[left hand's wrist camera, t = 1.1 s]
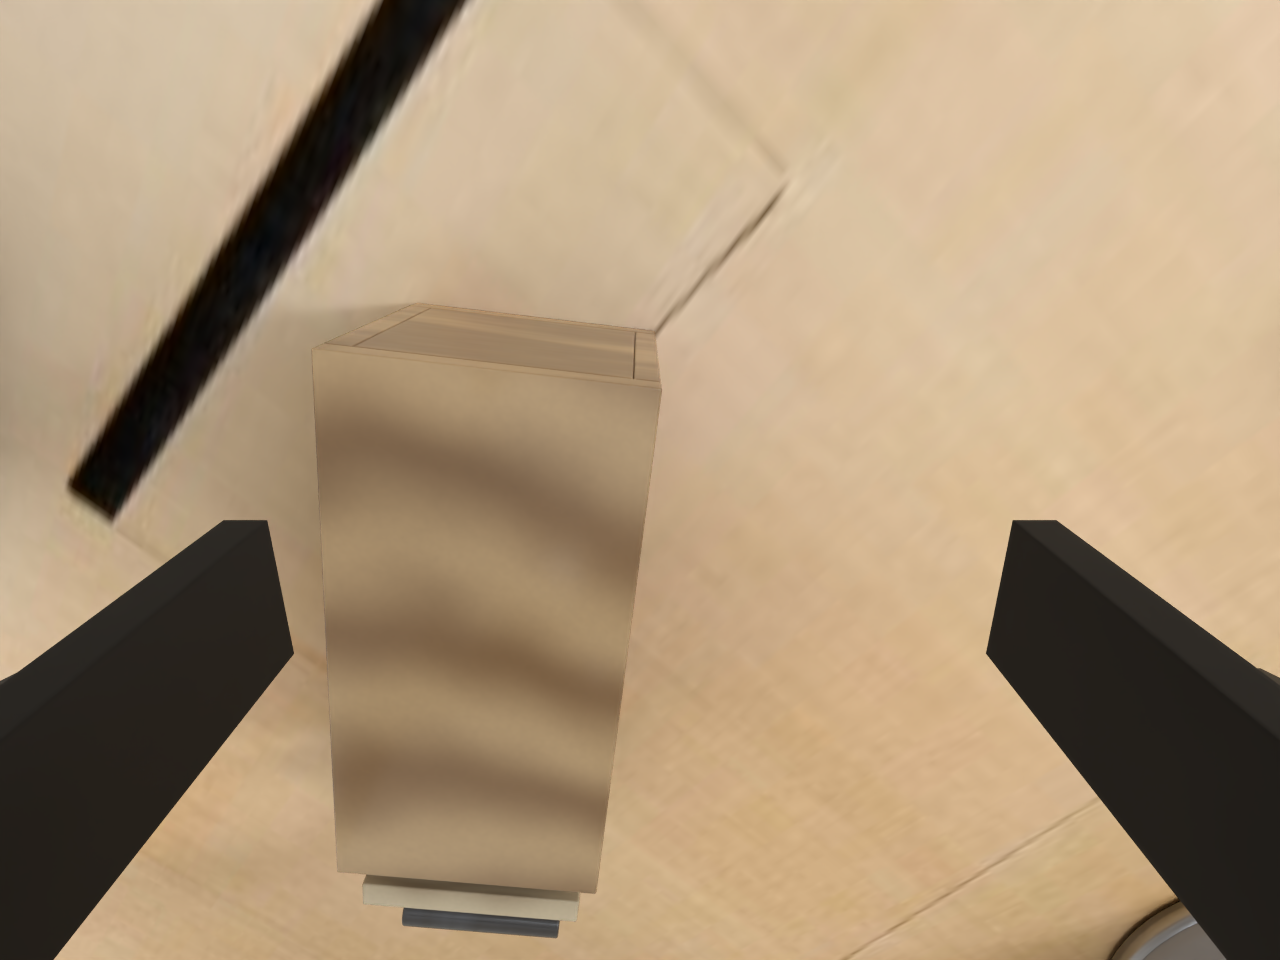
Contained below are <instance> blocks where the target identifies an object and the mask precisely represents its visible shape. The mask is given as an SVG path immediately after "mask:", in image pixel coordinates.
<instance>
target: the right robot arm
mask: <svg viewBox="0 0 1280 960" xmlns="http://www.w3.org/2000/svg"><path fill="white" fill-rule="evenodd" d="M1111 960H1226V958H1225V957H1224V956H1223V955H1222V953H1221V952H1220V951H1219V949H1218V948H1217V947H1216V946H1215V944H1214V943H1213V942H1212V941H1211V939H1210V938H1209V937H1208V935H1207V934H1206V933H1205V932H1204V930H1203V929H1202V928H1201V927H1200V925H1199V924H1198V923H1197V921H1196V920H1195V919H1194V918H1193V916H1192V915H1191V914H1190V913H1189V911H1188V910H1187V909H1186V907H1185V906H1184V905H1183V904H1182V902H1181V901H1180V902H1178V903H1176V904H1174V905H1172V906H1170V907H1168V908H1166V909H1165V910H1163V911H1161V912H1160V913H1158V914H1156V915H1155V916H1153V917H1152V918H1150V919H1149V920H1147V921H1146V922H1145V923H1144V924H1142V925H1141V926H1140V927H1139V928H1137V929H1136V930H1135V931H1134V932H1133V933H1132V934H1131V935H1130V936H1129V937H1128V938H1127V939H1126V940H1125V941H1124V942H1123V944H1122V945H1121V946H1120V947H1119V949H1118V950H1117V951H1116V953H1115V954H1114V956H1113V958H1112V959H1111Z"/></svg>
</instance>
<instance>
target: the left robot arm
mask: <svg viewBox="0 0 1280 960" xmlns="http://www.w3.org/2000/svg"><path fill="white" fill-rule="evenodd" d="M293 654H294V651H293V646H292V641H291V636H290V631H289V626H288V622H287V617H286V612H285V607H284V602H283V597H282V592H281V587H280V582H279V577H278V572H277V567H276V562H275V557H274V552H273V547H272V542H271V537H270V532H269V527H268V522H267V520H223V521H222V522H221V523H219V524H218V525H217V526H215V527H214V528H213V529H211V530H210V531H208V532H207V533H206V534H204V535H203V536H202V537H200V538H199V539H198V540H196V541H195V542H194V543H192V544H191V545H190V546H188V547H187V548H185V549H184V550H183V551H181V552H180V553H179V554H177V555H176V556H175V557H173V558H172V559H171V560H169V561H168V562H166V563H165V564H164V565H162V566H161V567H160V568H158V569H157V570H156V571H154V572H153V573H152V574H150V575H149V576H148V577H146V578H145V579H143V580H142V581H141V582H139V583H138V584H137V585H135V586H134V587H133V588H131V589H130V590H129V591H127V592H126V593H125V594H123V595H122V596H120V597H119V598H118V599H116V600H115V601H114V602H112V603H111V604H110V605H108V606H107V607H106V608H104V609H103V610H101V611H100V612H99V613H97V614H96V615H95V616H93V617H92V618H91V619H89V620H88V621H87V622H85V623H84V624H83V625H81V626H80V627H78V628H77V629H76V630H74V631H73V632H72V633H70V634H69V635H68V636H66V637H65V638H64V639H62V640H61V641H59V642H58V643H57V644H55V645H54V646H53V647H51V648H50V649H49V650H47V651H46V652H45V653H43V654H42V655H41V656H39V657H38V658H36V659H35V660H34V661H32V662H31V663H30V664H28V665H27V666H26V667H24V668H23V669H22V670H20V671H19V672H17V673H15V674H13V675H11V676H9V677H7V678H5V679H3V680H1V681H0V960H54V958H55V957H56V956H57V955H58V953H59V952H60V951H61V949H62V948H63V947H64V946H65V944H66V943H67V942H68V941H69V939H70V938H71V937H72V935H73V934H74V933H75V932H76V930H77V929H78V928H79V927H80V925H81V924H82V923H83V921H84V920H85V919H86V918H87V916H88V915H89V914H90V913H91V911H92V910H93V909H94V907H95V906H96V905H97V904H98V902H99V901H100V900H101V899H102V897H103V896H104V895H105V893H106V892H107V891H108V890H109V888H110V887H111V886H112V885H113V883H114V882H115V881H116V879H117V878H118V877H119V876H120V874H121V873H122V872H123V871H124V869H125V868H126V867H127V865H128V864H129V863H130V862H131V860H132V859H133V858H134V857H135V855H136V854H137V853H138V851H139V850H140V849H141V848H142V846H143V845H144V844H145V843H146V841H147V840H148V839H149V837H150V836H151V835H152V834H153V832H154V831H155V830H156V829H157V827H158V826H159V825H160V823H161V822H162V821H163V820H164V818H165V817H166V816H167V814H168V813H169V812H170V811H171V809H172V808H173V807H174V806H175V804H176V803H177V802H178V800H179V799H180V798H181V797H182V795H183V794H184V793H185V792H186V790H187V789H188V788H189V786H190V785H191V784H192V783H193V781H194V780H195V779H196V778H197V776H198V775H199V774H200V772H201V771H202V770H203V769H204V767H205V766H206V765H207V764H208V762H209V761H210V760H211V758H212V757H213V756H214V755H215V753H216V752H217V751H218V750H219V748H220V747H221V746H222V744H223V743H224V742H225V741H226V739H227V738H228V737H229V736H230V734H231V733H232V732H233V730H234V729H235V728H236V727H237V725H238V724H239V723H240V722H241V720H242V719H243V718H244V716H245V715H246V714H247V713H248V711H249V710H250V709H251V708H252V706H253V705H254V704H255V702H256V701H257V700H258V699H259V697H260V696H261V695H262V694H263V692H264V691H265V690H266V688H267V687H268V686H269V685H270V683H271V682H272V681H273V680H274V678H275V677H276V676H277V674H278V673H279V672H280V671H281V669H282V668H283V667H284V666H285V664H286V663H287V662H288V660H289V659H290V658H291V657H292V655H293ZM986 654H987V655H988V657H989V658H990V659H991V660H992V662H993V663H994V664H995V666H996V667H997V668H998V669H999V671H1000V672H1001V673H1002V674H1003V676H1004V677H1005V678H1006V680H1007V681H1008V682H1009V683H1010V685H1011V686H1012V687H1013V688H1014V690H1015V691H1016V692H1017V694H1018V695H1019V696H1020V697H1021V699H1022V700H1023V701H1024V702H1025V704H1026V705H1027V706H1028V708H1029V709H1030V710H1031V711H1032V713H1033V714H1034V715H1035V716H1036V718H1037V719H1038V720H1039V722H1040V723H1041V724H1042V725H1043V727H1044V728H1045V729H1046V730H1047V732H1048V733H1049V734H1050V736H1051V737H1052V738H1053V739H1054V741H1055V742H1056V743H1057V744H1058V746H1059V747H1060V748H1061V750H1062V751H1063V752H1064V753H1065V755H1066V756H1067V757H1068V758H1069V760H1070V761H1071V762H1072V764H1073V765H1074V766H1075V767H1076V769H1077V770H1078V771H1079V772H1080V774H1081V775H1082V776H1083V778H1084V779H1085V780H1086V781H1087V783H1088V784H1089V785H1090V786H1091V788H1092V789H1093V790H1094V792H1095V793H1096V794H1097V795H1098V797H1099V798H1100V799H1101V800H1102V802H1103V803H1104V804H1105V806H1106V807H1107V808H1108V809H1109V811H1110V812H1111V813H1112V815H1113V816H1114V817H1115V818H1116V820H1117V821H1118V822H1119V823H1120V825H1121V826H1122V827H1123V829H1124V830H1125V831H1126V832H1127V834H1128V835H1129V836H1130V837H1131V839H1132V840H1133V841H1134V843H1135V844H1136V845H1137V846H1138V848H1139V849H1140V850H1141V851H1142V853H1143V854H1144V855H1145V857H1146V858H1147V859H1148V860H1149V862H1150V863H1151V864H1152V865H1153V867H1154V868H1155V869H1156V871H1157V872H1158V873H1159V874H1160V876H1161V877H1162V878H1163V879H1164V881H1165V882H1166V883H1167V885H1168V886H1169V887H1170V888H1171V890H1172V891H1173V892H1174V893H1175V895H1176V896H1177V897H1178V899H1179V900H1180V901H1181V902H1182V904H1183V905H1184V906H1185V907H1186V909H1187V910H1188V911H1189V913H1190V914H1191V915H1192V916H1193V918H1194V919H1195V920H1196V921H1197V923H1198V924H1199V925H1200V927H1201V928H1202V929H1203V930H1204V932H1205V933H1206V934H1207V935H1208V937H1209V938H1210V939H1211V941H1212V942H1213V943H1214V944H1215V946H1216V947H1217V948H1218V949H1219V951H1220V952H1221V953H1222V955H1223V956H1224V957H1225V958H1226V960H1280V678H1279V677H1277V676H1275V675H1273V674H1271V673H1269V672H1267V671H1265V670H1263V669H1261V668H1256V667H1254V666H1253V665H1252V664H1250V663H1249V662H1248V661H1246V660H1245V659H1244V658H1242V657H1241V656H1239V655H1238V654H1237V653H1235V652H1234V651H1233V650H1231V649H1230V648H1229V647H1227V646H1226V645H1225V644H1223V643H1222V642H1221V641H1219V640H1218V639H1216V638H1215V637H1214V636H1212V635H1211V634H1210V633H1208V632H1207V631H1206V630H1204V629H1203V628H1202V627H1200V626H1199V625H1197V624H1196V623H1195V622H1193V621H1192V620H1191V619H1189V618H1188V617H1187V616H1185V615H1184V614H1183V613H1181V612H1180V611H1179V610H1177V609H1176V608H1174V607H1173V606H1172V605H1170V604H1169V603H1168V602H1166V601H1165V600H1164V599H1162V598H1161V597H1160V596H1158V595H1157V594H1155V593H1154V592H1153V591H1151V590H1150V589H1149V588H1147V587H1146V586H1145V585H1143V584H1142V583H1141V582H1139V581H1138V580H1137V579H1135V578H1134V577H1132V576H1131V575H1130V574H1128V573H1127V572H1126V571H1124V570H1123V569H1122V568H1120V567H1119V566H1118V565H1116V564H1115V563H1113V562H1112V561H1111V560H1109V559H1108V558H1107V557H1105V556H1104V555H1103V554H1101V553H1100V552H1099V551H1097V550H1096V549H1095V548H1093V547H1092V546H1090V545H1089V544H1088V543H1086V542H1085V541H1084V540H1082V539H1081V538H1080V537H1078V536H1077V535H1076V534H1074V533H1073V532H1072V531H1070V530H1069V529H1067V528H1066V527H1065V526H1063V525H1062V524H1061V523H1059V522H1058V521H1057V520H1013V522H1012V527H1011V532H1010V537H1009V542H1008V547H1007V552H1006V557H1005V562H1004V567H1003V572H1002V577H1001V582H1000V587H999V592H998V597H997V602H996V607H995V612H994V617H993V622H992V626H991V631H990V636H989V641H988V646H987V651H986Z"/></svg>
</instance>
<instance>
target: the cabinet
mask: <svg viewBox="0 0 1280 960" xmlns="http://www.w3.org/2000/svg"><path fill="white" fill-rule="evenodd" d="M312 368H313V388H314V408H315V429H316V449H317V469H318V489H319V509H320V530H321V550H322V570H323V590H324V610H325V631H326V651H327V671H328V691H329V712H330V732H331V752H332V772H333V792H334V813H335V833H336V853H337V871H338V872H343V873H355V874H367V875H379V876H391V877H403V878H414V879H426V880H438V881H450V882H462V883H474V884H486V885H498V886H509V887H521V888H533V889H545V890H557V891H569V892H581V893H592V894H595V893H596V890H597V883H598V875H599V867H600V860H601V852H602V844H603V837H604V829H605V821H606V814H607V806H608V798H609V791H610V783H611V775H612V768H613V760H614V753H615V745H616V737H617V730H618V722H619V714H620V707H621V699H622V691H623V684H624V676H625V668H626V661H627V653H628V646H629V638H630V630H631V623H632V615H633V607H634V600H635V592H636V584H637V577H638V569H639V561H640V554H641V546H642V538H643V531H644V523H645V516H646V508H647V500H648V493H649V485H650V477H651V470H652V462H653V454H654V447H655V439H656V431H657V424H658V416H659V409H660V401H661V393H662V387H661V379H660V371H659V363H658V354H657V346H656V337H655V332H654V331H650V330H641V329H633V328H624V327H616V326H607V325H599V324H590V323H582V322H573V321H565V320H557V319H548V318H540V317H531V316H523V315H514V314H506V313H497V312H489V311H480V310H472V309H463V308H455V307H446V306H438V305H429V304H421V303H416V304H414V305H411V306H408V307H406V308H403V309H401V310H399V311H397V312H394V313H392V314H390V315H387V316H385V317H383V318H380V319H378V320H376V321H374V322H371V323H369V324H367V325H364V326H362V327H360V328H358V329H355V330H353V331H351V332H348V333H346V334H344V335H342V336H339V337H337V338H335V339H332V340H330V341H328V342H326V343H324V344H321V345H319V346H317V347H315V348H312Z"/></svg>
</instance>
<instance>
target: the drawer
mask: <svg viewBox="0 0 1280 960" xmlns="http://www.w3.org/2000/svg"><path fill="white" fill-rule="evenodd" d="M579 898H580V892H569V891H557V890H545V889H533V888H521V887H509V886H498V885H486V884H474V883H462V882H450V881H438V880H426V879H414V878H403V877H391V876H379V875H366V877H365V880H364V882H363V904H367V905H379V906H391V907H403V908H404V909H403V915H402V924H403V925H404V926H412V927H424V928H436V929H448V930H461V931H473V932H485V933H498V934H510V935H522V936H534V937H547V938H557V937H558V931H559V922H560V920H561V921H573V922H576V921H577V916H578V908H579Z"/></svg>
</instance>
